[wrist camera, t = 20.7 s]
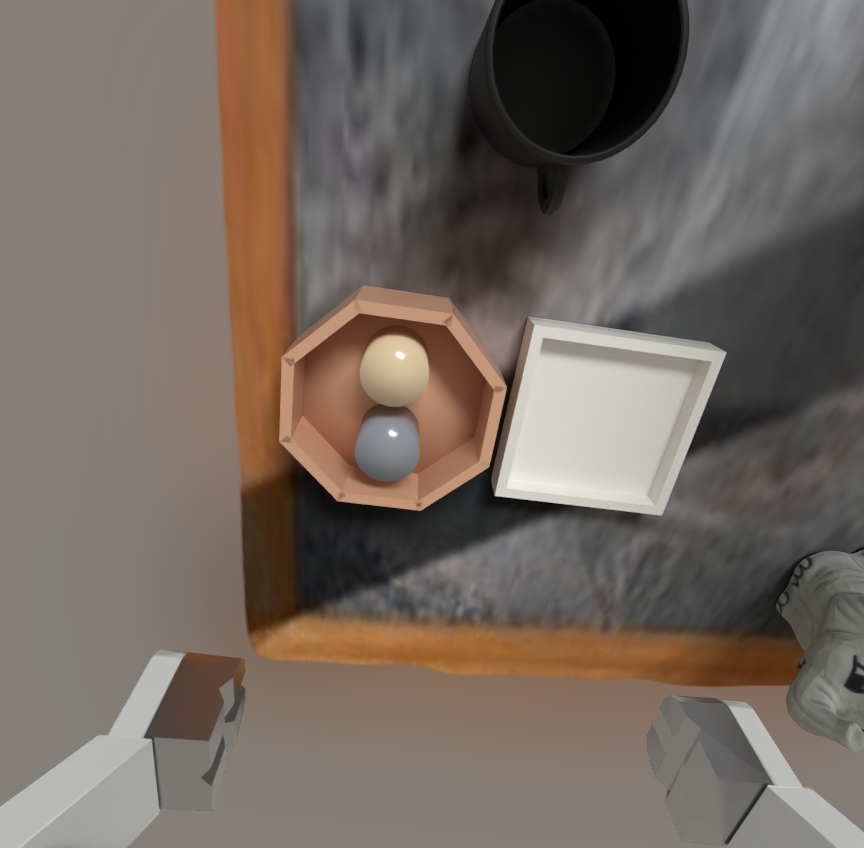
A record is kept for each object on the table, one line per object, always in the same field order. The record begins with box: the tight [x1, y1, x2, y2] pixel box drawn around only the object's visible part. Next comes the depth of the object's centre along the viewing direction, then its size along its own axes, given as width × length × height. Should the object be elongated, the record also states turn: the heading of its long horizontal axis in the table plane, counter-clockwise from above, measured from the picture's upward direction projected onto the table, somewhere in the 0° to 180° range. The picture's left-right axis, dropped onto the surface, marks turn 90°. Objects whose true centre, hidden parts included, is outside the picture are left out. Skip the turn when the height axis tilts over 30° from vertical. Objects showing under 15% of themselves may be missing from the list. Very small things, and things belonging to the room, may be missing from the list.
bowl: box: [279, 285, 507, 511], centre depth 38 cm, size 15×15×5 cm
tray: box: [491, 316, 727, 516], centre depth 41 cm, size 14×14×2 cm
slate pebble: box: [355, 404, 419, 482], centre depth 39 cm, size 5×5×4 cm
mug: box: [470, 0, 689, 215], centre depth 29 cm, size 9×12×9 cm
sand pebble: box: [360, 326, 429, 407], centre depth 37 cm, size 5×5×4 cm
